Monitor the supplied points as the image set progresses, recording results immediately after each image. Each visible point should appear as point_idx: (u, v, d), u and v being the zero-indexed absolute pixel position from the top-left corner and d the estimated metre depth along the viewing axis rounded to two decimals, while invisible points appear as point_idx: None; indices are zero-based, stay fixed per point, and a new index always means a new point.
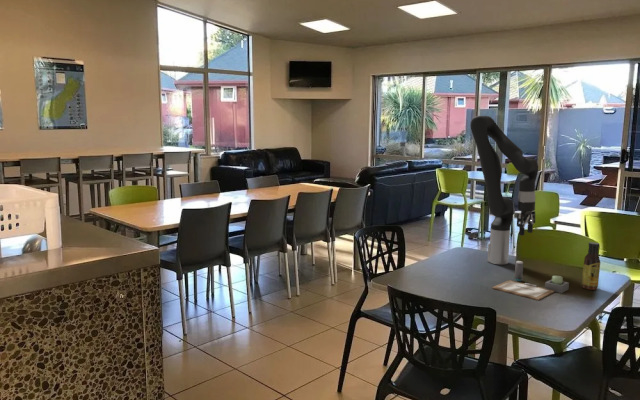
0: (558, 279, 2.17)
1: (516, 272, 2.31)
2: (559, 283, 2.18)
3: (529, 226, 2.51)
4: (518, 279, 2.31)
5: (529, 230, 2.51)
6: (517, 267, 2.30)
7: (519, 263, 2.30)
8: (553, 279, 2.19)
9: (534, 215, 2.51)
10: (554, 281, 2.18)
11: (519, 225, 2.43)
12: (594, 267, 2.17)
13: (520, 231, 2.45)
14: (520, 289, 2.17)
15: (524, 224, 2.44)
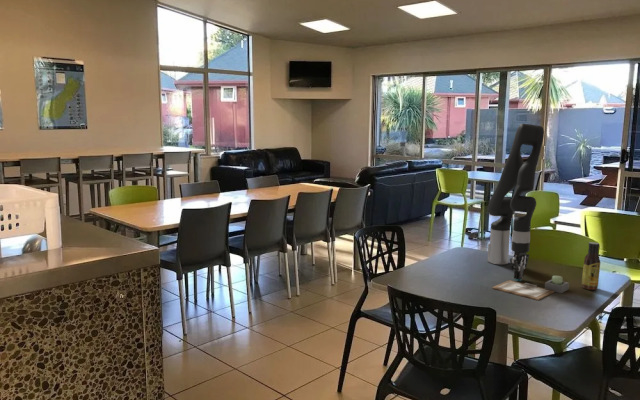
0: (558, 279, 2.17)
1: None
2: (559, 283, 2.18)
3: None
4: (518, 279, 2.31)
5: None
6: None
7: None
8: (553, 279, 2.19)
9: (527, 258, 2.33)
10: (554, 281, 2.18)
11: (514, 269, 2.28)
12: (595, 267, 2.17)
13: (515, 275, 2.30)
14: (520, 289, 2.17)
15: (519, 267, 2.29)
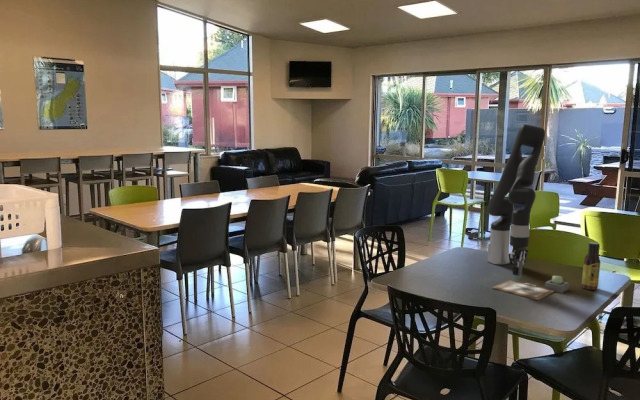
0: (558, 279, 2.17)
1: None
2: (559, 283, 2.18)
3: None
4: (517, 275, 2.20)
5: None
6: None
7: None
8: (553, 279, 2.19)
9: (526, 254, 2.23)
10: (554, 281, 2.18)
11: (513, 264, 2.17)
12: (595, 267, 2.17)
13: (514, 271, 2.19)
14: (520, 289, 2.17)
15: (518, 263, 2.18)
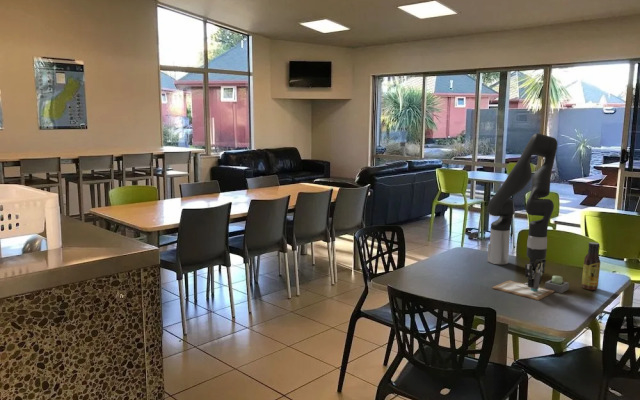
0: (558, 279, 2.17)
1: None
2: (559, 283, 2.18)
3: None
4: (534, 289, 2.15)
5: None
6: None
7: None
8: (553, 279, 2.19)
9: (544, 264, 2.18)
10: (554, 281, 2.18)
11: (528, 276, 2.11)
12: (594, 267, 2.17)
13: (529, 283, 2.13)
14: (520, 289, 2.17)
15: (534, 275, 2.12)
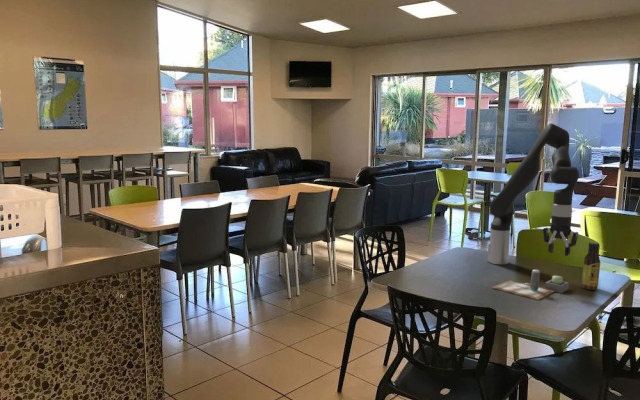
0: (558, 279, 2.17)
1: (532, 281, 2.15)
2: (559, 283, 2.18)
3: None
4: (534, 289, 2.15)
5: None
6: (533, 276, 2.14)
7: (536, 272, 2.14)
8: (553, 279, 2.19)
9: (572, 237, 2.11)
10: (554, 281, 2.18)
11: None
12: (595, 267, 2.17)
13: None
14: (520, 289, 2.17)
15: (550, 240, 2.18)
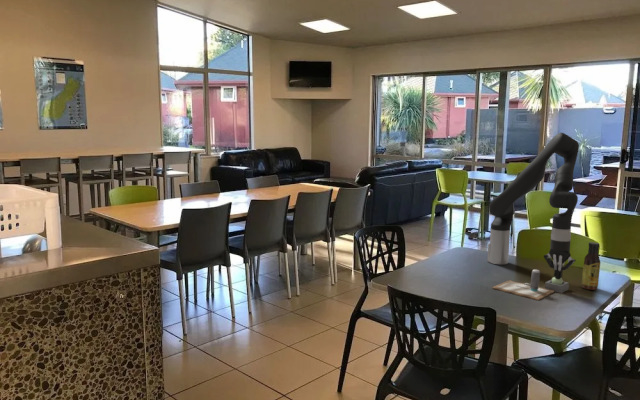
0: (558, 281, 2.17)
1: (532, 281, 2.15)
2: None
3: None
4: (534, 289, 2.15)
5: None
6: (533, 276, 2.14)
7: (536, 272, 2.14)
8: (553, 281, 2.19)
9: (568, 263, 2.14)
10: (554, 283, 2.18)
11: None
12: (595, 267, 2.17)
13: None
14: (520, 289, 2.17)
15: (554, 266, 2.18)
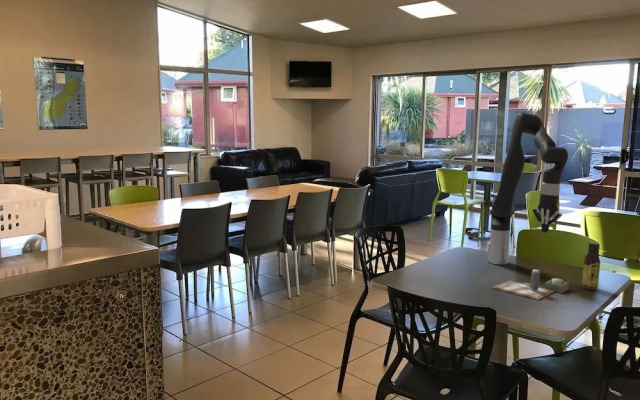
0: (558, 282, 2.18)
1: (532, 281, 2.15)
2: None
3: None
4: (534, 289, 2.15)
5: None
6: (533, 276, 2.14)
7: (536, 272, 2.14)
8: (553, 282, 2.19)
9: (555, 216, 2.22)
10: None
11: None
12: (594, 267, 2.17)
13: None
14: (520, 289, 2.17)
15: (542, 220, 2.26)
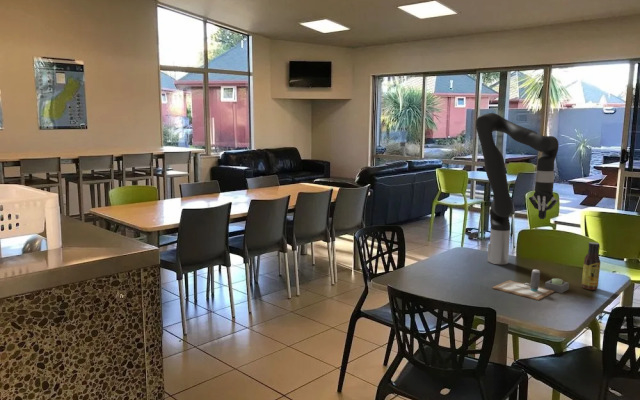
0: (558, 282, 2.18)
1: (532, 281, 2.15)
2: None
3: None
4: (534, 289, 2.15)
5: None
6: (533, 276, 2.14)
7: (536, 272, 2.14)
8: (553, 282, 2.19)
9: (551, 203, 2.30)
10: None
11: None
12: (594, 267, 2.17)
13: None
14: (520, 289, 2.17)
15: (539, 207, 2.34)
